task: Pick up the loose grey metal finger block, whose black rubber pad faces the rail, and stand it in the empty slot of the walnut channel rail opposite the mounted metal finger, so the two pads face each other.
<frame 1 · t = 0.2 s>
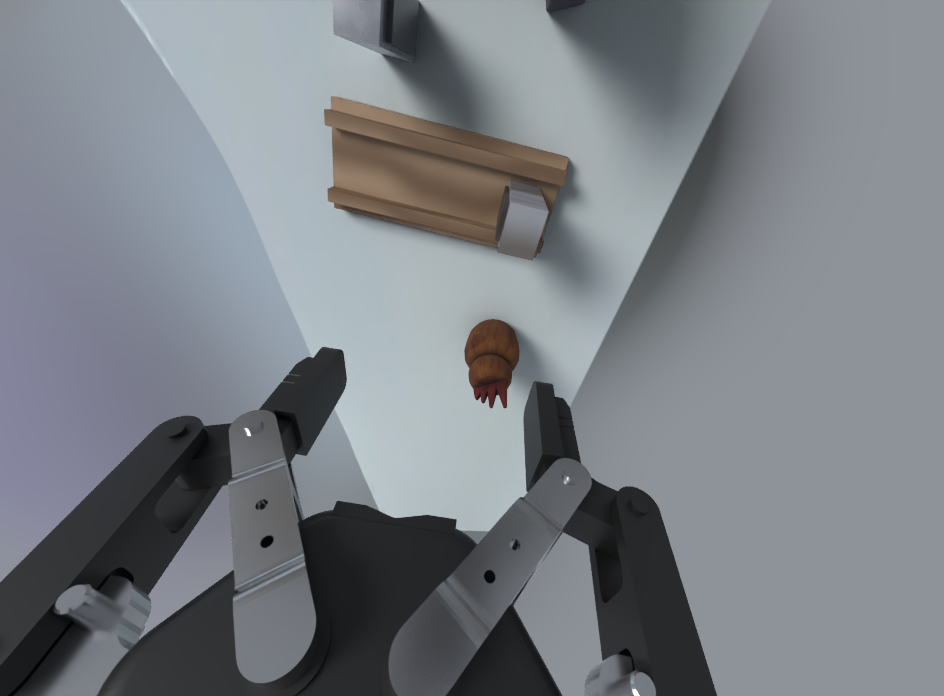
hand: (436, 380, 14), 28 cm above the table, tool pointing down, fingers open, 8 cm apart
wooden figurine: (493, 330, 46), on the table
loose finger: (399, 28, 29), on the table
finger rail: (446, 182, 36), on the table
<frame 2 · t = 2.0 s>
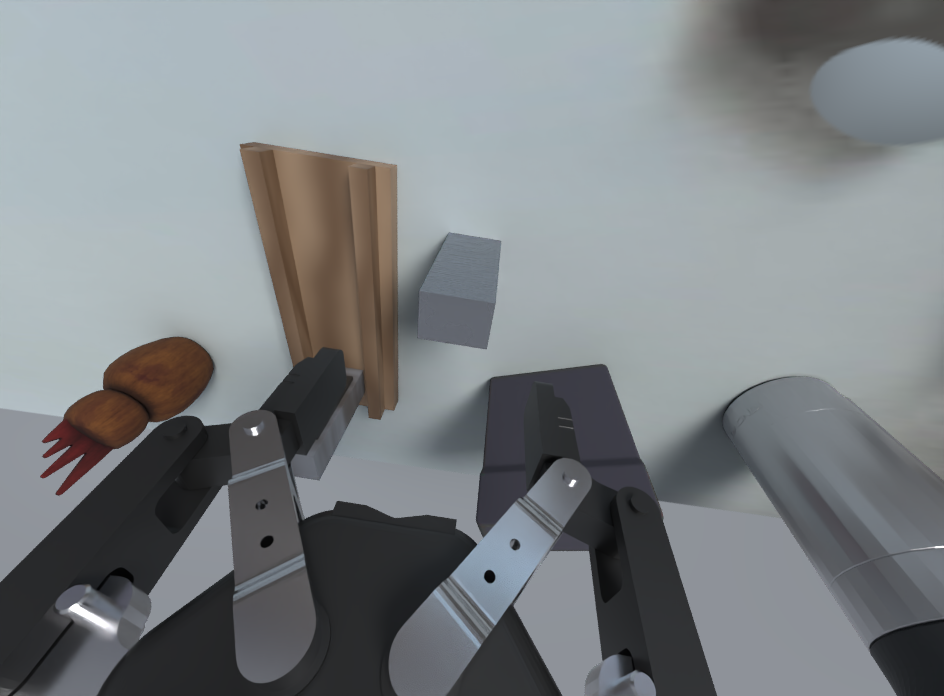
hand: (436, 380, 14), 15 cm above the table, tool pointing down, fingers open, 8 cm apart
wooden figurine: (195, 352, 36), on the table
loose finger: (472, 255, 26), on the table
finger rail: (342, 300, 30), on the table
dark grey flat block: (547, 380, 33), on the table
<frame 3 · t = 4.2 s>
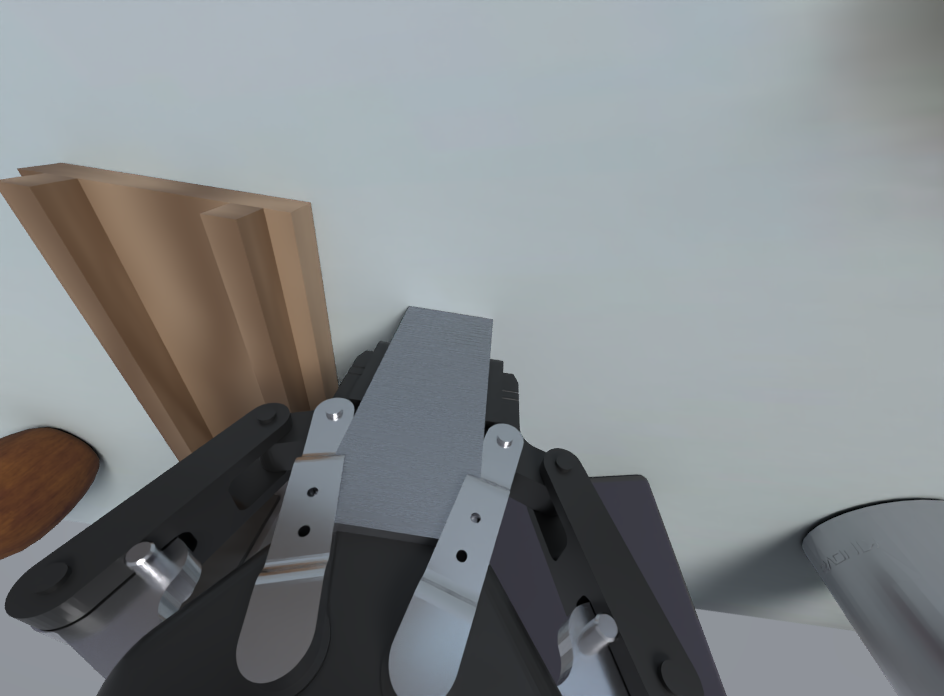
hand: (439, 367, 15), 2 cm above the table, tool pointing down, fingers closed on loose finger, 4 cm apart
wooden figurine: (74, 442, 26), on the table
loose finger: (448, 338, 17), on the table, touching gripper
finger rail: (258, 390, 20), on the table
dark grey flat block: (560, 488, 24), on the table
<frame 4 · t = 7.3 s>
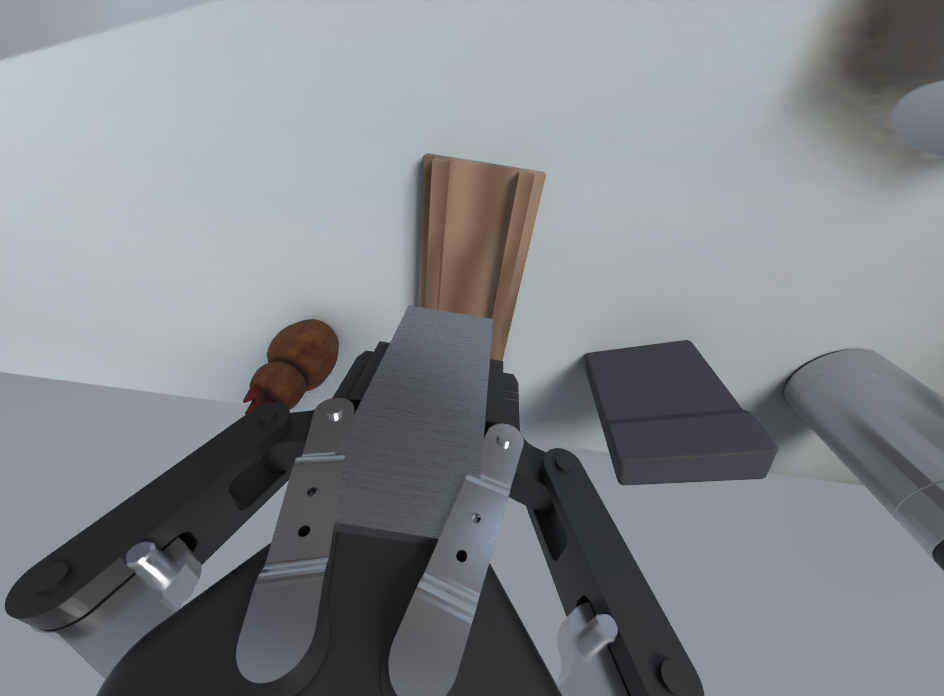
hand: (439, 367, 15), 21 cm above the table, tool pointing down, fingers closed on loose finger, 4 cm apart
wooden figurine: (322, 333, 41), on the table
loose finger: (448, 338, 17), point 18 cm above the table, touching gripper
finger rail: (469, 286, 35), on the table
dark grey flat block: (634, 355, 38), on the table
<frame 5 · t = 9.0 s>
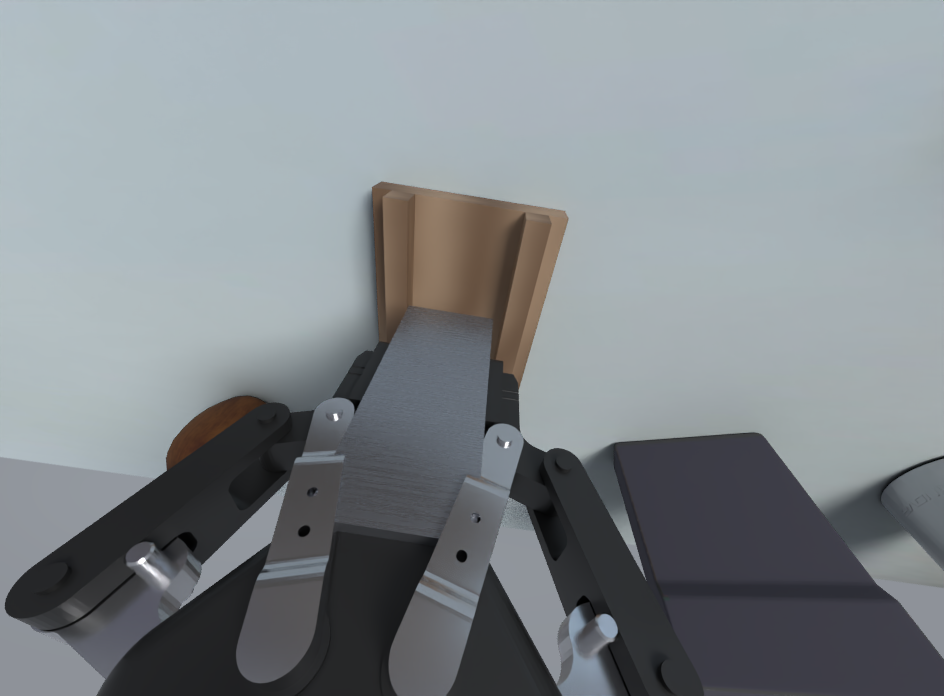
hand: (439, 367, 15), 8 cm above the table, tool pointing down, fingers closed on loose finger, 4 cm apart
wooden figurine: (260, 410, 31), on the table
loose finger: (448, 337, 17), point 6 cm above the table, touching gripper
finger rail: (452, 361, 25), on the table
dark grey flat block: (680, 446, 28), on the table
when the fingers open (5 cm above the table, at t = 10.4 s): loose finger stays where it is, resting on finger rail.
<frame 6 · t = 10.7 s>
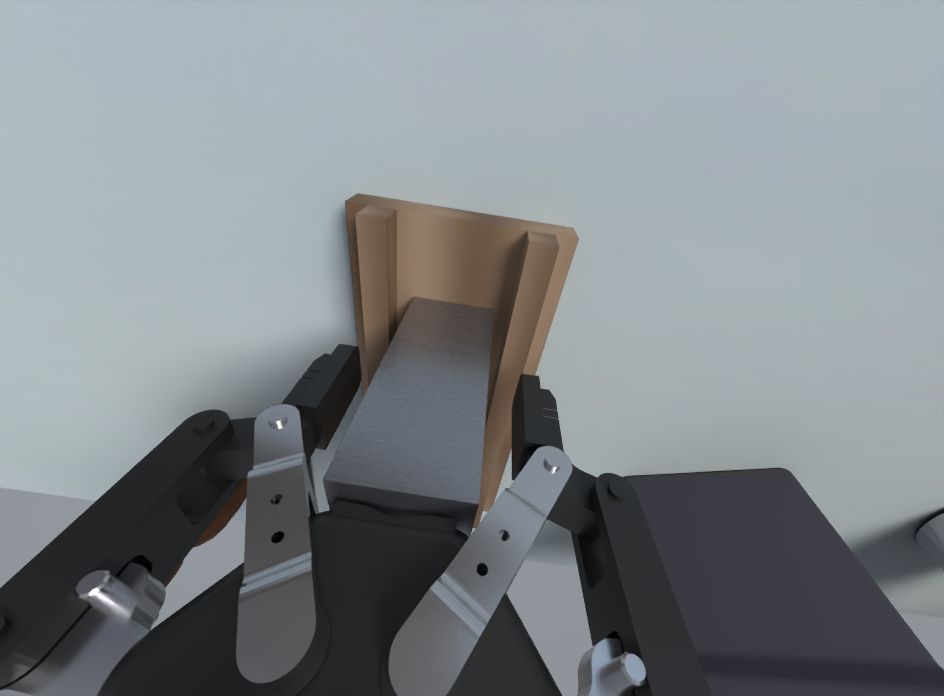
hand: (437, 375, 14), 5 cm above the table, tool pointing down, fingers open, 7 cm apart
wooden figurine: (235, 438, 28), on the table
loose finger: (451, 327, 17), point 1 cm above the table, touching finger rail
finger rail: (445, 390, 22), on the table
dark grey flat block: (697, 481, 26), on the table
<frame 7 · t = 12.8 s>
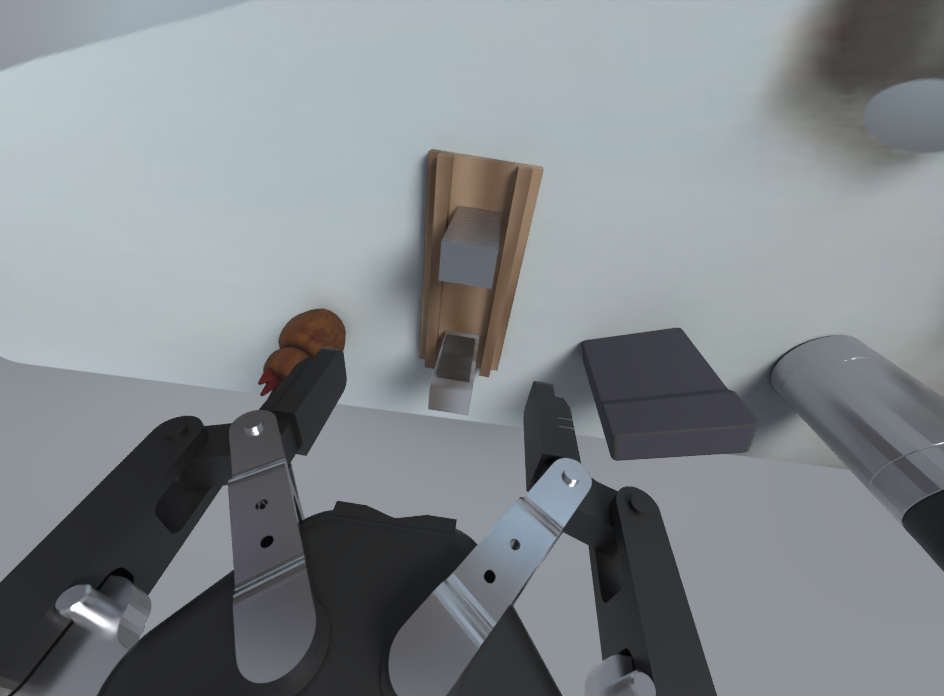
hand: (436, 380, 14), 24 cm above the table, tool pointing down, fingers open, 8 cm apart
wooden figurine: (329, 323, 43), on the table
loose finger: (477, 224, 32), point 1 cm above the table, touching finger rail
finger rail: (470, 276, 37), on the table
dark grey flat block: (628, 343, 40), on the table
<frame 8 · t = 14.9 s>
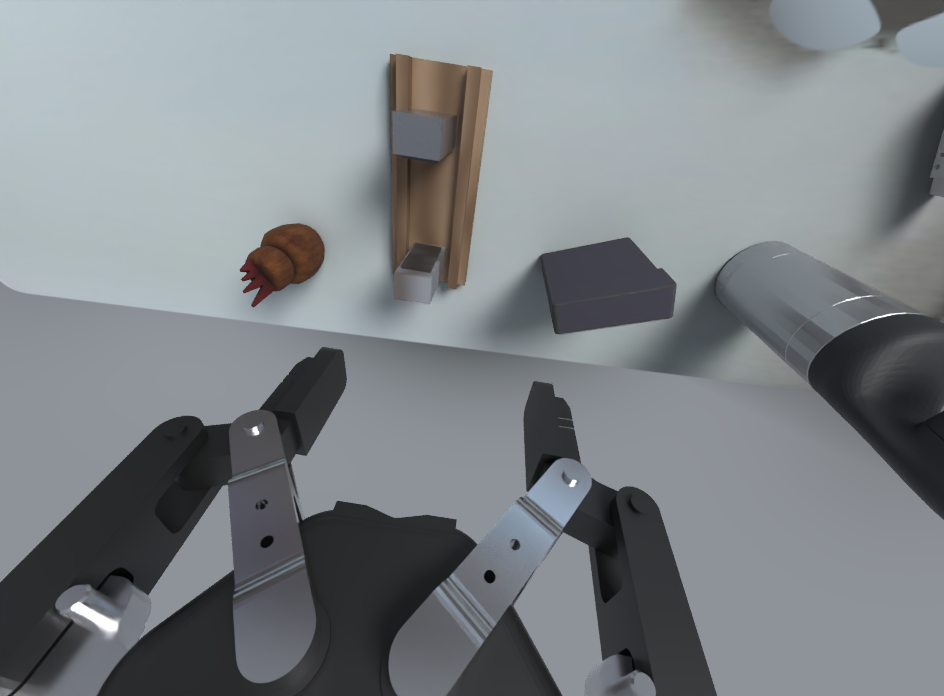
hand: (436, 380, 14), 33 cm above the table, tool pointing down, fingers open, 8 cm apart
wooden figurine: (310, 241, 46), on the table
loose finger: (437, 129, 36), point 1 cm above the table, touching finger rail
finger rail: (436, 187, 40), on the table
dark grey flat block: (584, 256, 44), on the table
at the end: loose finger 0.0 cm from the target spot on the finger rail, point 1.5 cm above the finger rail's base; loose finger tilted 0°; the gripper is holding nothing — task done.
